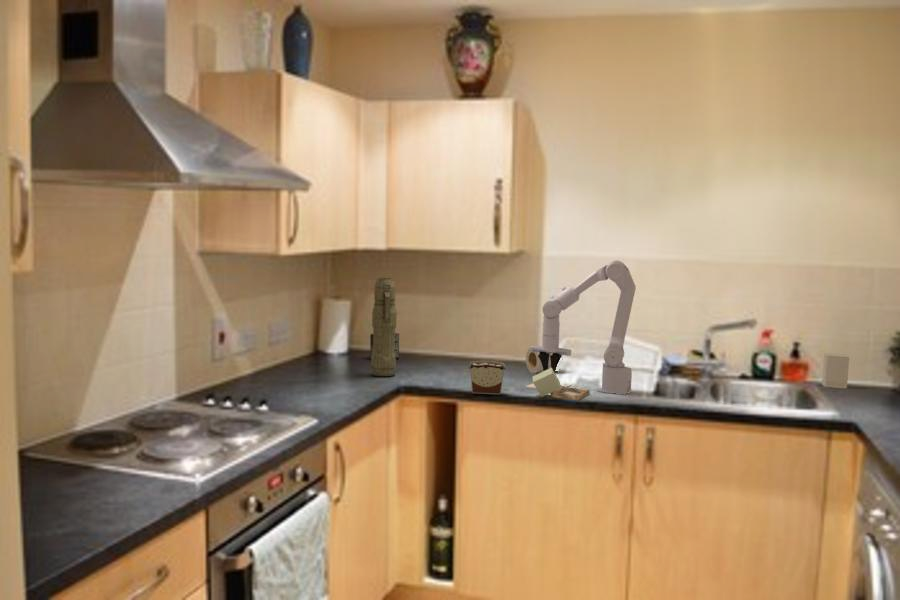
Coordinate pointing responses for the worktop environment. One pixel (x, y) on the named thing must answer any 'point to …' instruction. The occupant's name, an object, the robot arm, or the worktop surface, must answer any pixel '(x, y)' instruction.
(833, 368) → the supplement box
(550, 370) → the green block
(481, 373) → the food container
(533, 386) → the beige mat
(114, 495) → the worktop surface
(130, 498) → the worktop surface
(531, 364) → the toilet paper
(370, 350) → the small box
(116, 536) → the worktop surface
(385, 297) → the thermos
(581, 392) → the wooden square frame
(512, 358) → the worktop surface
